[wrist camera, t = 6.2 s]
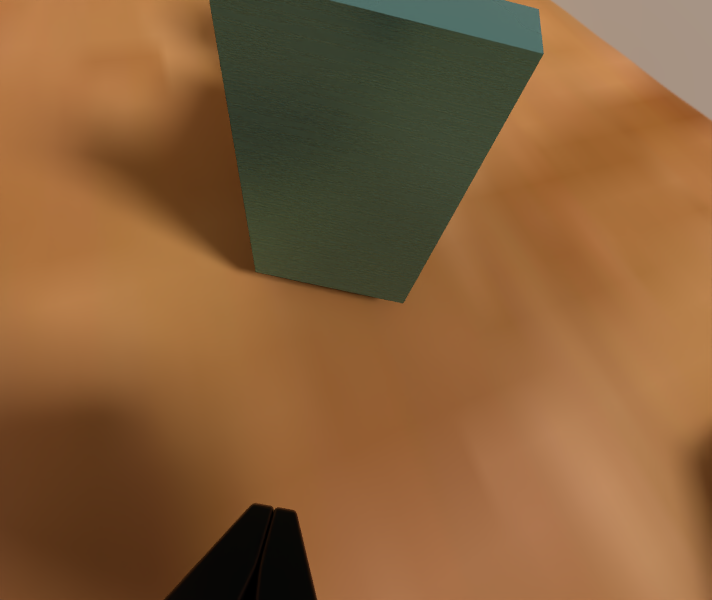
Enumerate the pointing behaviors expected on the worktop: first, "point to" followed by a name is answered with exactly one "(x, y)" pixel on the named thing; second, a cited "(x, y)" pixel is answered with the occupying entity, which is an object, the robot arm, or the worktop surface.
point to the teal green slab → (365, 126)
